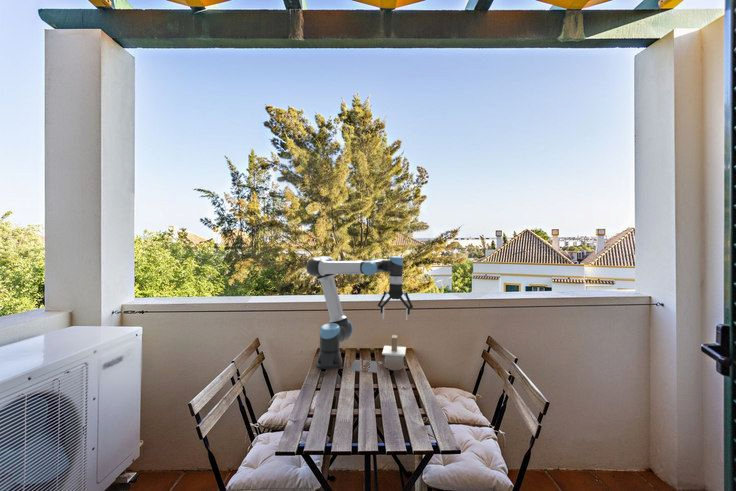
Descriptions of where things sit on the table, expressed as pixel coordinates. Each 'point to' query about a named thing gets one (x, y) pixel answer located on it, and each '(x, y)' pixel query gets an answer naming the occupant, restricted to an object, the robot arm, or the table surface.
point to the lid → (394, 348)
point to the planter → (393, 362)
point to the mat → (356, 367)
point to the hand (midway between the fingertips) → (394, 319)
